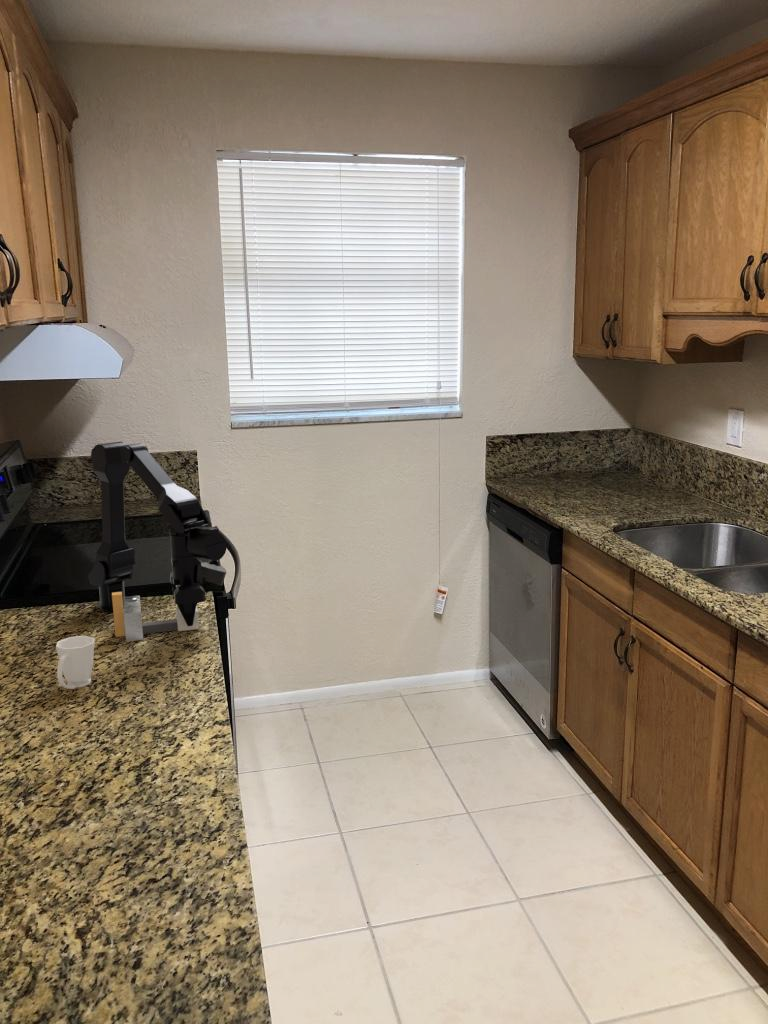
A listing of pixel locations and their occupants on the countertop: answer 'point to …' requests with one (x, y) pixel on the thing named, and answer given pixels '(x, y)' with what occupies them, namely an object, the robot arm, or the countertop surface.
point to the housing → (133, 618)
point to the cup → (75, 661)
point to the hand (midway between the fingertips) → (189, 622)
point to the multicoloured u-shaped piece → (150, 626)
